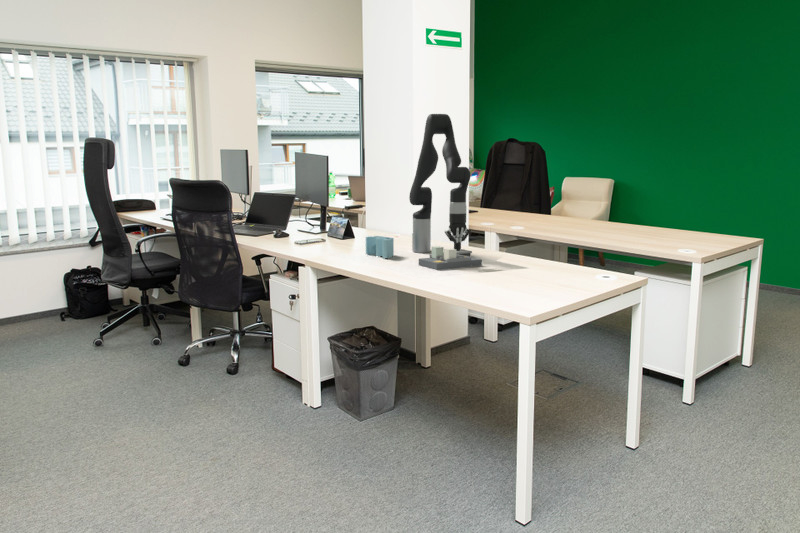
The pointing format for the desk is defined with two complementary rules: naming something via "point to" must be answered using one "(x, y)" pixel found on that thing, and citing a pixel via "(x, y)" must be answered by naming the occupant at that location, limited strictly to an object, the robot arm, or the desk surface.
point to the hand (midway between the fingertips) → (457, 250)
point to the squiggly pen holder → (380, 246)
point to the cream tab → (449, 253)
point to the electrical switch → (464, 252)
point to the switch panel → (450, 262)
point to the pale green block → (437, 251)
